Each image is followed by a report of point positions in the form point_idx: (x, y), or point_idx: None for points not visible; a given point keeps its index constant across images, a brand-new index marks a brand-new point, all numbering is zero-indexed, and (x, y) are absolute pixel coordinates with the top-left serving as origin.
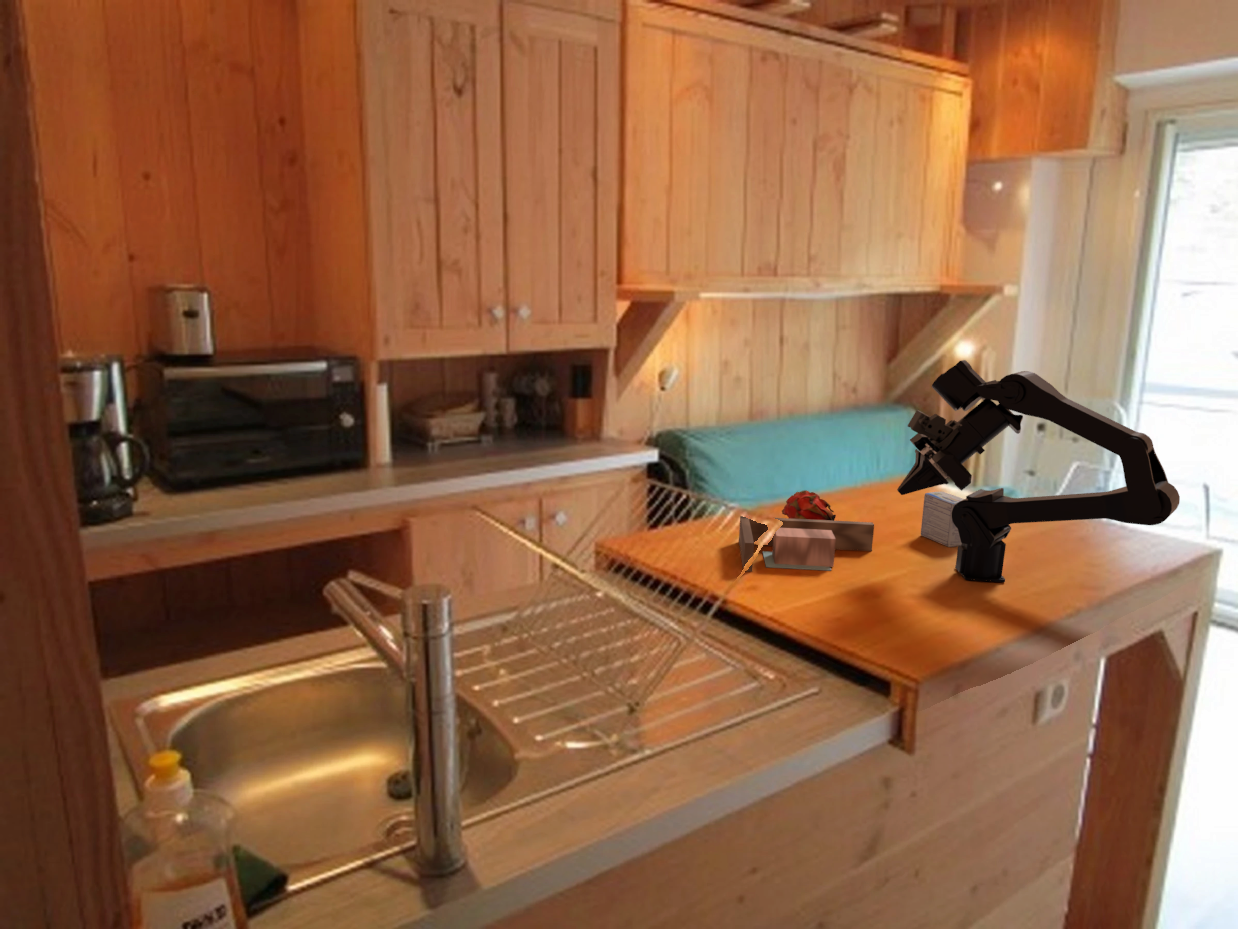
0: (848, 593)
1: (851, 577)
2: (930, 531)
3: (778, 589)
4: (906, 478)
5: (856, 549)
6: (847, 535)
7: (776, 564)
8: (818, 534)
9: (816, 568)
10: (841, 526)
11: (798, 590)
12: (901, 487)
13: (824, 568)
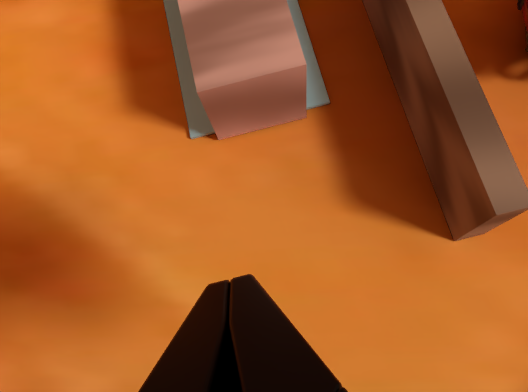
0: (19, 203)
1: (153, 199)
2: None
3: (11, 42)
4: (249, 357)
5: (435, 189)
6: (438, 135)
7: None
8: (229, 32)
9: (185, 98)
10: (439, 95)
11: (14, 84)
12: (194, 309)
13: (193, 118)
